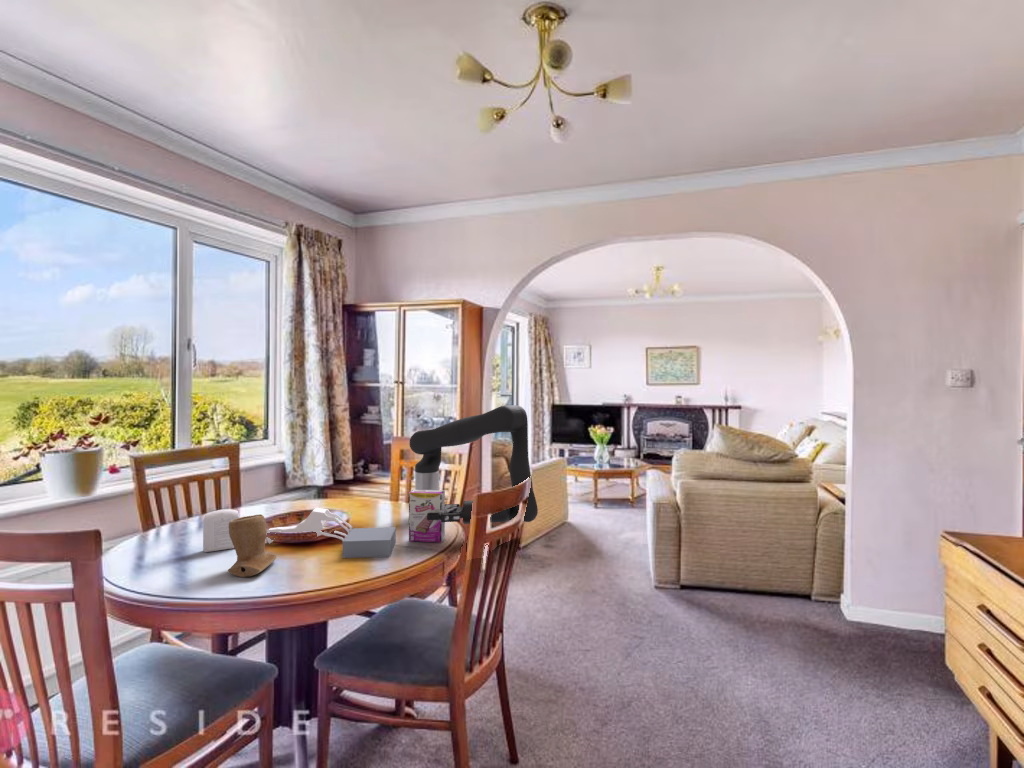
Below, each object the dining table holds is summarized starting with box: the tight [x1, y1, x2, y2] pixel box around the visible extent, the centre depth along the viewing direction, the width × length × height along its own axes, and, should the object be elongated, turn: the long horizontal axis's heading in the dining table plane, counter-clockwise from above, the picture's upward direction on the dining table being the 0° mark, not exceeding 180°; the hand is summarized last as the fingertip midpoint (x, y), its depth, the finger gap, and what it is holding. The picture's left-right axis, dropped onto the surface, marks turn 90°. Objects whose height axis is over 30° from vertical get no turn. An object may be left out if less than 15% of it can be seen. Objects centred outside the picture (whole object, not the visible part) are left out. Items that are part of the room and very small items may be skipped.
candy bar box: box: [408, 489, 446, 543], centre depth 180 cm, size 11×5×16 cm, turn 84°
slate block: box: [341, 526, 397, 559], centre depth 170 cm, size 14×14×5 cm
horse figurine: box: [266, 507, 353, 544], centre depth 179 cm, size 5×16×25 cm
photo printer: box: [202, 508, 241, 553], centre depth 172 cm, size 10×4×12 cm, turn 123°
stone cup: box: [227, 514, 277, 578], centre depth 154 cm, size 15×12×15 cm
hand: (427, 513), depth 180 cm, fingers open, 8 cm apart
